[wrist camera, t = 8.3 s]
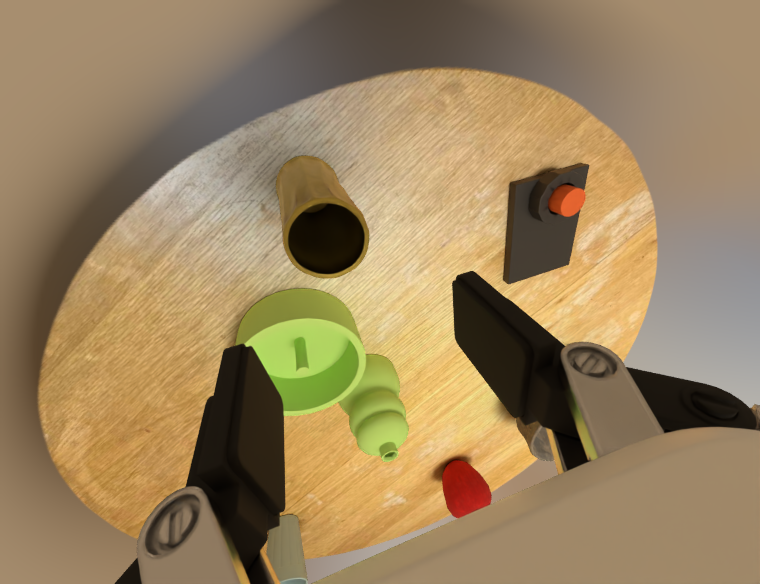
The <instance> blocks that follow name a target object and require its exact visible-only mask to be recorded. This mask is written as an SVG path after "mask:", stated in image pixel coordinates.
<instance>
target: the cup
mask: <svg viewBox="0 0 760 584" xmlns="http://www.w3.org/2000/svg"><path fill="white" fill-rule="evenodd" d="M266 554H267V557H268V559H269V561H270V563H271V565H272V567H273V569H274V571H275V573H276V575H277V577H278V580H279V582H280V584H307V583H308V579H307V573H306V567H305V560H304V553H303V547H302V540H301V533H300V527H299V520H298V517H297V516H295V515H284V516H281V517H280V526H278V527H276V528H273V529H271V530H269V536H268V544H267V553H266Z"/></svg>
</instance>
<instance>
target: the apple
mask: <svg viewBox="0 0 760 584" xmlns="http://www.w3.org/2000/svg"><path fill="white" fill-rule="evenodd" d="M442 484H443V492H444V496H445V500H446V504H447V508H448V509H449V511H450V512H451V514H452V515H453V516H454V517H456V518H461V517H463V516H465V515H467V514H470V513H472V512H474V511H477V510H479V509H481V508H483V507H486V506H488V505H490V503H491V492H490V489H489V486H488V484H487V483H486V481H485V480H484V479H483V477H482V476H481V475H480V474H479V473H478V472H477V471H476V470H475V469H474V468H473V467H472V466H471V465H469V464H468V463H467V462H464V461H460V460H453V461H452V462H450V463H449V464H448V465H447V466H446V468H445V470H444V472H443V475H442Z"/></svg>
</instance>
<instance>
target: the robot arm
mask: <svg viewBox="0 0 760 584" xmlns="http://www.w3.org/2000/svg"><path fill="white" fill-rule="evenodd" d="M452 288H453V310H454V332H455V339H456V342H457V344H458V345H459V347H460V348H461V349H462V350H463V352H464V353H465V354H466V356H467V357H468V358H469V360H470V361H471V362H472V364H473V365H474V366H475V368H476V369H477V370H478V372H479V373H480V374H481V376H482V377H483V378H484V380H485V381H486V382H487V384H488V385H489V386H490V388H491V389H492V390H493V392H494V393H495V394H496V395H497V397H498V398H499V399H500V401H501V402H502V403H503V405H504V406H505V407H506V409H507V410H508V411H509V413H510V414H511V415H512V416H513V417H514V418H518V417H519V419H520V420H521V421H522V422H523V424H524V425H525V426H526V425H529V424H531V423H534V422H536V421H538V422H539V424H540V425H541V426H542V427H544V428H546V430H547V434H548V438H549V441H550V445H551V449H552V453H553V456H554V460H555V464H556V468H557V471H558V475H557V476H555V477H552V478H550V479H548V480H546V481H543V482H541V483H539V484H537V485H534V486H532V487H529V488H527V489H525V490H523V491H520V492H518V493H516V494H513V495H511V496H509V497H506V498H504V499H502V500H499V501H497V502H495V503H493V504H490V505H488V506H486V507H483V508H481V509H479V510H477V511H474V512H472V513H470V514H467V515H465V516H463V517H461V518H458V519H456V520H454V521H452V522H449V523H447V524H445V525H442V526H440V527H438V528H436V529H433V530H431V531H429V532H427V533H424V534H422V535H420V536H417V537H415V538H413V539H411V540H408V541H406V542H404V543H402V544H399V545H397V546H395V547H393V548H390V549H388V550H386V551H384V552H381V553H379V554H377V555H374V556H372V557H370V558H368V559H365V560H363V561H361V562H359V563H357V564H354V565H352V566H350V567H348V568H346V569H343V570H341V571H339V572H336V573H334V574H332V575H330V576H327V577H325V578H323V579H321V580H318V581H316V582H314V583H312V584H760V405H756V404H755V405H754V406H753V407H752V408H749V407H748V406H747V405H746V404H744V403H743V402H742V401H741V400H739V399H738V398H736V397H735V396H733V395H732V394H730V393H728V392H726V391H724V390H722V389H719V388H717V387H714V386H711V385H707V384H703V383H699V382H694V381H689V380H684V379H680V378H675V377H671V376H666V375H661V374H656V373H652V372H647V371H642V370H638V369H633V368H628V367H625V365H624V363H623V362H622V360H621V359H620V358H619V357H618V355H616V354H615V353H614V352H612V351H611V350H609V349H607V348H605V347H603V346H601V345H598V344H594V343H589V342H574V343H571V344H568V345H566V346H564V345H563V344H562V343H561V342H560V341H558V340H557V339H556V338H555V337H554V336H552V335H551V334H550V333H549V332H548V331H546V330H545V329H544V328H543V327H542V326H540V325H539V324H538V323H537V322H536V321H534V320H533V319H532V318H531V317H530V316H529V315H527V314H526V313H525V312H524V311H523V310H521V309H520V308H519V307H518V306H517V305H515V304H514V303H513V302H512V301H510V300H509V299H507V298H505V297H504V296H503V295H502V294H500V293H499V292H498V291H497V290H496V289H494V288H493V287H492V286H491V285H490V284H488V283H487V282H486V281H485V280H484V279H483V278H481V277H480V276H479V275H478V274H477V273H475V272H474V271H470V272H466V273H463V274H460V275H458V276H457V277H456V280H454V281H453V283H452ZM284 510H285V460H284V408H283V401H282V398H281V395H280V394H279V392H278V390H277V388H276V387H275V385H274V383H273V381H272V380H271V378H270V376H269V375H268V373H267V371H266V369H265V368H264V366H263V364H262V362H261V361H260V359H259V357H258V355H257V354H256V352H255V350H254V349H253V347H252V346H247V347H246V345H245V344H239V345H236V346H233V347H230V348H226V349H225V350H224V352H223V355H222V360H221V365H220V369H219V374H218V378H217V383H216V387H215V392H214V396H211V397H209V399H208V400H207V402H206V405H205V409H204V413H203V417H202V422H201V426H200V430H199V434H198V438H197V442H196V446H195V451H194V455H193V459H192V463H191V467H190V471H189V475H188V480H187V484H186V487H185V488H182V489H179V490H177V491H175V492H174V493H172V494H170V495H169V496H167V497H166V498H165V499H164V500H163V501H162V502H161V503H160V504H158V505H157V506H156V508H155V509H154V510H153V511H152V513H151V514H150V515H149V516H148V518H147V520H146V522H145V523H144V525H143V527H142V529H141V531H140V534H139V538H138V541H137V556H138V558H137V559H136V560H135V561H134V562H133V563H132V564H131V566H130V567H129V568H128V569H127V570H126V571H125V572H124V574H123V575H122V576H121V577H120V578H119V579H118V580H117V582H116V583H115V584H280V582H279V580H278V577H277V575H276V573H275V571H274V569H273V567H272V565H271V563H270V561H269V559H268V557H267V554H266V552H265V550H264V548H263V546H264V544H265V543H266V541H267V531H268V530H271V529H273V528H276V527H278V526H280V512H283V511H284Z"/></svg>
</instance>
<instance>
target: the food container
mask: <svg viewBox="0 0 760 584" xmlns="http://www.w3.org/2000/svg"><path fill="white" fill-rule="evenodd" d="M239 344H245V345H246V347H247V346H252V347H253V349H254V350H255V352H256V354H257V355H258V357H259V359H260V361H261V362H262V364H263V366H264V368H265V369H266V371H267V373H268V375H269V376H270V378H271V380H272V381H273V383H274V385H275V387H276V388H277V390H278V392H279V394H280V395H281V398H282V401H283V408H284V416H299V415H305V414H311V413H314V412H317V411H321V410H323V409H326V408H328V407H330V406H332V405H334V404H336V403H337V402H338V403H339V404H340V406H341V408H342V409H343V410H344V412H345V413H347V414H348V415H349V425H350V429H351V431H352V433H353V435H354V436H355V437H356V439H357V444H358V447H359V448H360V449H361V450H362V451H363V452H364V453H366V454H368V455H374V456H381V458H382V461H384V462H389V461H392V460H394V459H396V458H397V457H398V454H399V453H398V451H397V449H398V448H399V447H400V446H401V445H402V444H403V443H404V441H405V440H406V438H407V435H408V431H409V426H408V423H407V421H406V411H405V407H404V405H403V403H402V401H401V400H400V399H399V398H398V397H399V392H400V383H399V378H398V375H397V373H396V371H395V368H394V366H393V364H392V363H391V361H390V360H389V359H387V358H386V357H383V356H381V355H374V354H370V355H365V349H364V347H363V344H362V341H361V338H360V335H359V333H358V330H357V327H356V324H355V321H354V319H353V317H352V314H351V312H350V311H349V309H348V308H347V307H346V306H345V304H344V303H342V302H341V301H340V300H339V299H337V298H336V297H334V296H332V295H330V294H328V293H325V292H322V291H318V290H314V289H305V288H301V289H289V290H285V291H280V292H277V293H274V294H272V295H270V296H267V297H265V298H264V299H262V300H261V301H259V302H257V303H256V304H255V305H254V306H253V307H252V308H251V309H250V310H249V311H248V312H247V313H246V315H245V316H244V317H243V319H242V321H241V323H240V326H239V329H238V333H237V339H236V344H235V346H236V345H239Z"/></svg>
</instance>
